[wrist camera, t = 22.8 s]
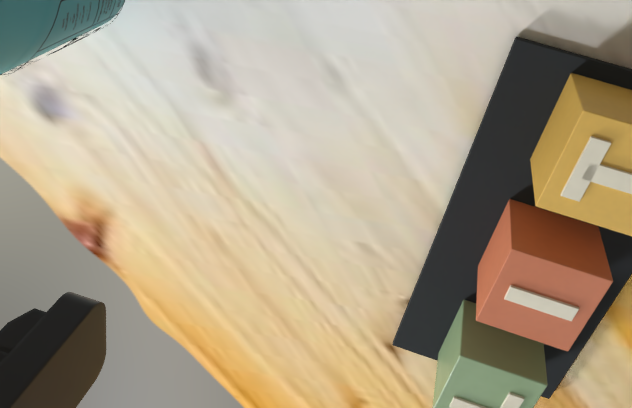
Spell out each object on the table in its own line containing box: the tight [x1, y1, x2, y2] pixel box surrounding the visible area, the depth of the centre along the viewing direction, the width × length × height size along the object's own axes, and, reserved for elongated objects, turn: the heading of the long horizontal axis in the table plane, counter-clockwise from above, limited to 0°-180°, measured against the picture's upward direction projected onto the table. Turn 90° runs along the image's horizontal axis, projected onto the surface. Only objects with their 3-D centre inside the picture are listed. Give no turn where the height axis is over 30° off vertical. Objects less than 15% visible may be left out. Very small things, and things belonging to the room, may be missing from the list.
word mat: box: [393, 37, 632, 399], centre depth 32 cm, size 20×10×1 cm, turn 168°
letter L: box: [433, 300, 548, 408], centre depth 34 cm, size 5×5×5 cm
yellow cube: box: [530, 73, 632, 236], centre depth 26 cm, size 5×5×5 cm
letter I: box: [476, 199, 613, 351], centre depth 30 cm, size 5×5×5 cm
